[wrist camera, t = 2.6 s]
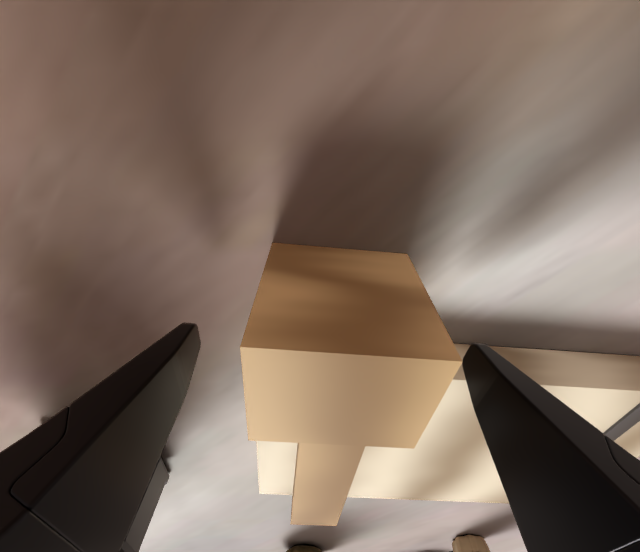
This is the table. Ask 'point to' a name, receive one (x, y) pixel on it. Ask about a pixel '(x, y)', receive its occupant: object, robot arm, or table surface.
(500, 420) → the robot arm
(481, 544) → the handle
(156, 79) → the table surface
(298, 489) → the marking gauge
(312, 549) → the fennel bulb
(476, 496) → the ash plank
